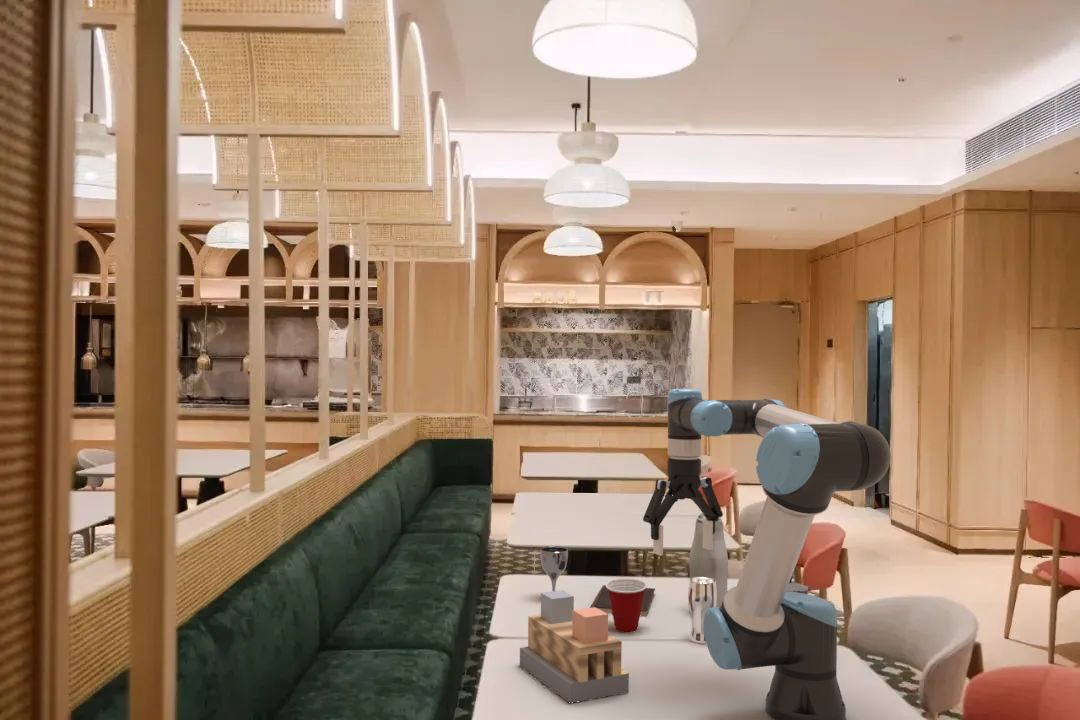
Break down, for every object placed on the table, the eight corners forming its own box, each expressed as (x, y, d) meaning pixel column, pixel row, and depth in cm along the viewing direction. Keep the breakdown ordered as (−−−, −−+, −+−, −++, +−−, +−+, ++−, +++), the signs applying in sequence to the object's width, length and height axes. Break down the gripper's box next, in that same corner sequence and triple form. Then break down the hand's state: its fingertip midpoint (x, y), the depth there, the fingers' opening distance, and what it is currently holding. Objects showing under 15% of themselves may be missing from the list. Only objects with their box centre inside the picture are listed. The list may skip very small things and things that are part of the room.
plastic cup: (598, 632, 219) (598, 585, 219) (614, 620, 229) (615, 575, 229) (637, 638, 214) (638, 590, 214) (652, 627, 224) (653, 581, 224)
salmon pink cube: (607, 640, 179) (608, 614, 179) (585, 644, 177) (585, 617, 177) (594, 632, 184) (594, 607, 184) (572, 636, 182) (572, 610, 182)
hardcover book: (654, 596, 255) (655, 588, 255) (647, 618, 233) (647, 610, 233) (601, 592, 259) (601, 584, 259) (589, 614, 236) (589, 606, 236)
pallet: (621, 674, 178) (621, 641, 178) (579, 682, 174) (579, 648, 174) (566, 640, 200) (566, 610, 200) (528, 646, 195) (528, 616, 195)
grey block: (573, 620, 192) (573, 596, 192) (551, 623, 190) (552, 599, 190) (562, 614, 197) (562, 590, 197) (540, 617, 195) (541, 592, 195)
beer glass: (716, 645, 210) (717, 584, 210) (687, 643, 211) (688, 582, 211) (716, 636, 217) (716, 577, 217) (688, 634, 218) (689, 575, 218)
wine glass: (535, 598, 249) (535, 547, 249) (559, 595, 252) (560, 545, 252) (547, 606, 242) (547, 553, 242) (572, 603, 245) (572, 550, 245)
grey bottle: (683, 610, 239) (684, 510, 239) (715, 607, 242) (716, 508, 242) (700, 620, 230) (701, 516, 229) (733, 617, 233) (734, 514, 233)
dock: (632, 691, 180) (632, 672, 180) (570, 703, 173) (570, 683, 173) (577, 655, 201) (577, 638, 201) (519, 665, 195) (519, 647, 195)
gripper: (718, 453, 202) (717, 543, 202) (628, 457, 191) (627, 553, 191) (738, 456, 195) (737, 549, 195) (647, 461, 184) (646, 560, 184)
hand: (683, 551), depth 193 cm, fingers open, 13 cm apart
